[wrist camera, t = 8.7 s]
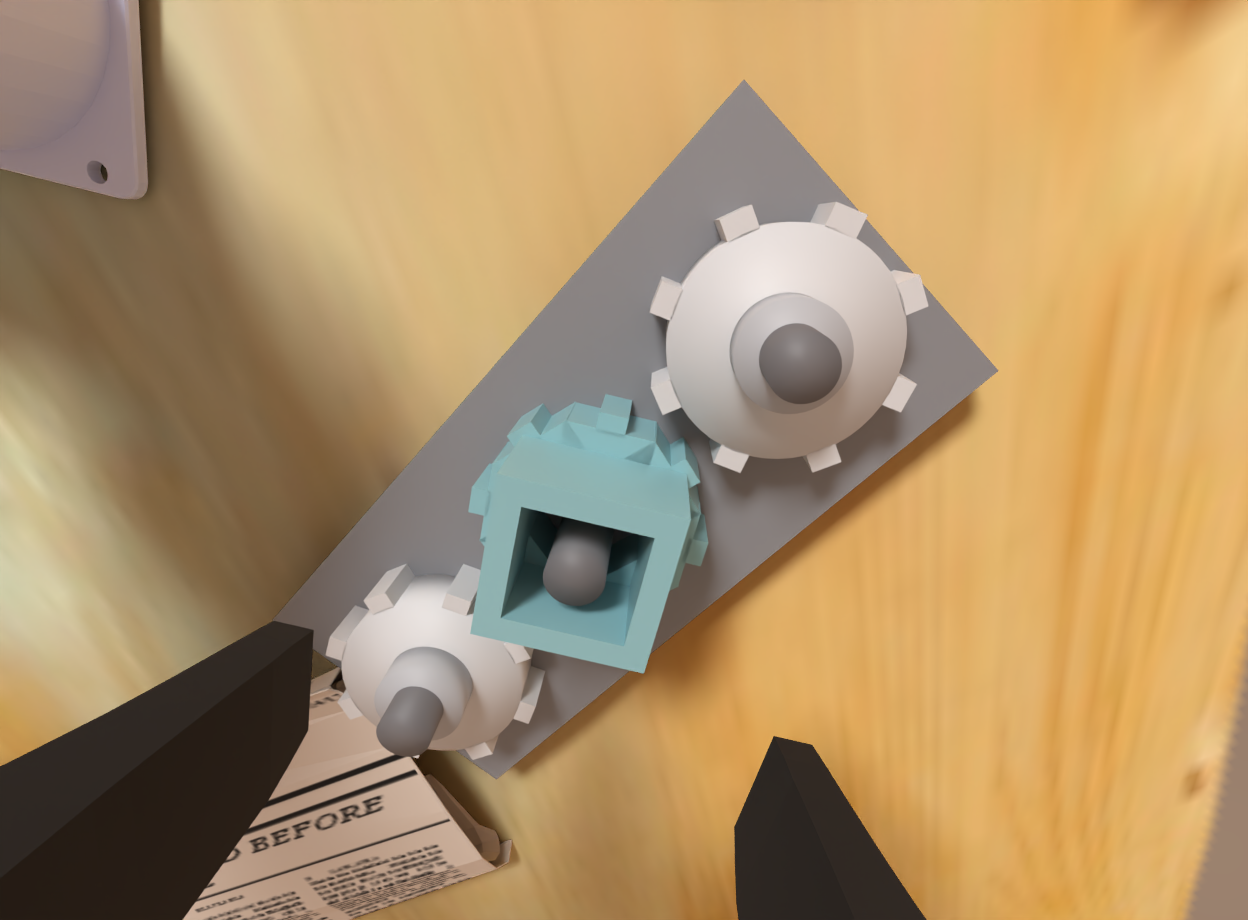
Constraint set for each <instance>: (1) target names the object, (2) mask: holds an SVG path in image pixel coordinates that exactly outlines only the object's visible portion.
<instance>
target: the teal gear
mask: <svg viewBox="0 0 1248 920" xmlns="http://www.w3.org/2000/svg"><path fill="white" fill-rule="evenodd" d="M631 405H632V400H629V399H625V398H620V397H616V396H612V395H608V394H606V395H605V397H604V400H603V403H602V406H601V408H598V407H594V406H590V405H585V404H581V403H577V402H574V403H572V404H571V405H569V406H567V407H566V408H564V409H562V410H561V411H559V412H558V413H556V414H554V415H553V416H552V415H551V414H550V412H549V411H548V409H547V408H546V407H545V405H544V404H541V405H539V406H538V407H536V408H534V409H533V410H531V411H529V412H528V413H526V414H525V415H523V416H521V418H520V419H519V420H518V422H517V423H516V424H515V426H514V427H513V428H512V430H511V431H510V432H509V434H508V435H507V437H508V439H509V440H510V441H509V442H507V444H506V445H505V447H504V448H503V449H502V451H501V452H500V453H499V455H498V456H497V458H496V459H495V460H494V462H493V463H492V464H490V463H489V465H488V466H487V467H486V469H485V470H484V471H483V473H482V474H481V476H480V477H479V478H478V480H477V481H476V482H475V484H474V485H473V486H472V490H471V497H470V504H469V510H468V512H470V513H475V514H479V515H483V516H484V518H483V524H482V530H481V537H480V541H481V543H482V544H483V545H484V553H483V559H482V565H481V571H480V577H479V583H478V589H477V596H476V602H475V608H474V614H473V620H472V626H471V632H470V634H473V635H477V636H482V637H486V638H490V639H495V640H499V641H504V642H508V643H512V644H517V645H521V646H525V647H530V648H534V649H539V650H543V651H547V652H552V653H556V654H560V655H565V656H569V657H573V658H578V659H582V660H587V661H591V662H595V663H600V664H604V665H608V666H613V667H617V668H622V669H626V670H630V671H635V672H639V673H643V674H644V672H645V669H646V665H647V662H648V659H649V655H650V652H651V649H652V646H653V642H654V639H655V636H656V633H657V629H658V626H659V623H660V619H661V616H662V613H663V610H664V606H665V603H666V600H667V597H668V593H669V591H670V590H672V589H674V588H676V587H678V586H679V582H680V579H681V575H682V572H683V569H684V566H685V563H688V564H692V565H697V566H701V564H702V561H703V558H704V555H705V552H706V549H707V545H708V537H707V530H706V523H705V516H704V514H701V509H700V502H699V494H698V487H697V486H696V484H698V483H700V476H699V469H698V462H697V458H696V456H695V454H694V453H693V451H692V450H691V448H690V446H689V445H688V443H687V442H686V440H685V438H684V437H682V438H681V439H679V440H677V441H675V442H673V443H672V444H670V443H669V441H668V440H667V438H666V437H665V435H664V433H663V432H662V430H661V429H660V427H659V425H658V424H657V422H656V421H652V420H648V419H644V418H639V417H635V416H631V415H630V411H631ZM546 513H550V514H554V515H558V516H562V517H567V518H571V519H575V520H579V521H584V522H588V523H592V524H596V525H601V526H605V527H609V528H613V529H618V530H622V531H626V532H630V533H633V534H631V535H629V536H627V537H626V538H624V539H622V540H620V541H618V542H616V543H614V544H612V545H611V552H610V558H609V564H608V570H607V576H606V582H605V587H604V590H603V592H602V594H601V595H600V596H599V597H598V598H597V599H596V600H595V601H593V602H591V603H589V604H587V605H582V606H570V605H566V604H563V603H561V602H559V601H557V600H555V599H554V598H553V597H552V596H551V595H550V594H549V593H548V591H547V590H546V588H545V586H544V583H543V572H544V568H545V565H546V563H547V560H548V557H549V554H550V551H551V548H552V545H553V542H554V540H555V537H556V534H557V531H558V530H557V528H556V527H555V526H554V524H553V523H552V521H551V520H550V519H549V517H548V516H547V515H546Z"/></svg>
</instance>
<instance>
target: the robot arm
mask: <svg viewBox="0 0 1248 920" xmlns="http://www.w3.org/2000/svg"><path fill="white" fill-rule="evenodd" d="M102 165H103V166H104V167H105V168H106V170H107V173H108V178H107V181H105V180H104V179H103V177H102V175H101V171H100V170H101V166H102ZM0 169H4V170H8V171H12V172H16V173H20V174H24V175H28V176H32V177H36V178H40V179H44V180H48V181H52V182H56V183H60V184H64V185H68V186H72V187H76V188H80V189H84V190H88V191H92V192H96V193H100V194H104V195H108V196H112V197H116V198H120V199H139V198H141V197H143V196H144V195H145V193H146V192H147V187H148V172H147V153H146V134H145V115H144V96H143V77H142V57H141V38H140V19H139V0H0ZM313 634H314V630H312V629H308V628H304V627H299V626H295V625H291V624H286V623H282V622H278V621H273V622H271V623H269V624H267V625H265V626H263V627H261V628H260V629H258V630H256V631H254V632H252V633H251V634H249V635H247V636H245V637H243V638H242V639H240V640H238V641H236V642H235V643H233V644H231V645H229V646H227V647H226V648H224V649H222V650H220V651H218V652H217V653H215V654H213V655H211V656H210V657H208V658H206V659H204V660H202V661H201V662H199V663H197V664H195V665H194V666H192V667H190V668H188V669H186V670H185V671H183V672H181V673H179V674H178V675H176V676H174V677H172V678H170V679H169V680H167V681H165V682H163V683H161V684H159V685H158V686H156V687H154V688H152V689H150V690H148V691H146V692H145V693H143V694H141V695H139V696H137V697H135V698H134V699H132V700H130V701H128V702H126V703H124V704H123V705H121V706H119V707H117V708H115V709H113V710H111V711H110V712H108V713H106V714H104V715H102V716H100V717H98V718H96V719H94V720H92V721H90V722H88V723H86V724H84V725H82V726H80V727H78V728H76V729H74V730H72V731H70V732H68V733H66V734H64V735H62V736H60V737H58V738H56V739H54V740H52V741H50V742H48V743H46V744H44V745H42V746H41V747H39V748H37V749H35V750H33V751H31V752H29V753H27V754H25V755H23V756H21V757H19V758H17V759H15V760H13V761H11V762H9V763H7V764H5V765H2V766H0V920H183V919H184V917H185V916H186V915H187V913H188V912H189V910H190V909H191V908H192V906H193V905H194V904H195V902H196V901H197V899H198V898H199V897H200V895H201V894H202V892H203V891H204V890H205V888H206V887H207V886H208V884H209V883H210V881H211V880H212V879H213V877H214V876H215V874H216V873H217V872H218V870H219V869H220V868H221V866H222V865H223V863H224V862H225V861H226V859H227V858H228V856H229V855H230V854H231V852H232V851H233V850H234V848H235V847H236V845H237V844H238V842H239V841H240V840H241V838H242V837H243V835H244V834H245V833H246V831H247V830H248V828H249V827H250V826H251V824H252V823H253V821H254V820H255V819H256V817H257V816H258V814H259V813H260V812H261V810H262V809H263V807H264V806H265V804H266V803H267V802H268V800H269V799H270V797H271V795H272V794H273V792H274V790H275V789H276V787H277V785H278V783H279V782H280V780H281V778H282V777H283V775H284V773H285V771H286V770H287V768H288V766H289V765H290V763H291V761H292V759H293V757H294V756H295V754H296V752H297V750H298V748H299V747H300V745H301V743H302V741H303V739H304V738H305V736H306V734H307V732H308V726H309V708H310V689H311V671H312V653H313ZM734 830H735V877H736V903H737V911H738V919H739V920H926V918H925V917H924V916H923V914H922V913H921V911H920V910H919V908H918V907H917V906H916V904H915V903H914V901H913V900H912V898H911V897H910V895H909V894H908V892H907V891H906V889H905V888H904V886H903V885H902V884H901V882H900V881H899V879H898V878H897V876H896V875H895V873H894V872H893V870H892V869H891V867H890V866H889V864H888V863H887V861H886V860H885V858H884V856H883V855H882V853H881V852H880V850H879V849H878V847H877V846H876V844H875V843H874V841H873V840H872V838H871V837H870V835H869V833H868V832H867V830H866V829H865V827H864V826H863V824H862V822H861V821H860V819H859V818H858V816H857V815H856V813H855V811H854V810H853V808H852V807H851V805H850V804H849V802H848V800H847V799H846V797H845V796H844V794H843V793H842V791H841V789H840V788H839V786H838V785H837V783H836V781H835V780H834V778H833V777H832V775H831V773H830V772H829V770H828V769H827V767H826V766H825V764H824V762H823V761H822V759H821V758H820V756H819V755H818V753H817V752H816V750H815V749H814V747H813V746H812V745H810V744H806V743H801V742H797V741H793V740H788V739H784V738H780V737H775V736H774V737H773V739H772V742H771V744H770V746H769V749H768V751H767V753H766V756H765V758H764V760H763V763H762V765H761V767H760V769H759V772H758V774H757V776H756V779H755V781H754V783H753V786H752V788H751V790H750V792H749V795H748V797H747V799H746V802H745V804H744V806H743V809H742V811H741V813H740V816H739V818H738V820H737V822H736V825H735V827H734Z"/></svg>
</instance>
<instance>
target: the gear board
mask: <svg viewBox="0 0 1248 920" xmlns="http://www.w3.org/2000/svg"><path fill="white" fill-rule="evenodd" d="M867 216H868V215H867V214H865V213H862V212H860V211H858V209H857V208H856V207H855V206H854V205H853V204H852V202H851V201H850V200H849V199H848V198H847V197H846V196H845V194H844V193H843V192H842V191H841V190H840V189H839V188H838V186H837V185H836V184H835V183H834V182H833V181H832V180H831V178H830V177H829V176H828V175H827V174H826V173H825V172H824V170H823V169H822V168H821V167H820V166H819V165H818V164H817V162H816V161H815V160H814V159H813V158H812V157H811V156H810V154H809V153H808V152H807V151H806V150H805V149H804V148H803V146H802V145H801V144H800V143H799V142H798V141H797V140H796V138H795V137H794V136H793V135H792V134H791V133H790V132H789V130H788V129H787V128H786V127H785V126H784V125H783V124H782V122H781V121H780V120H779V119H778V118H777V117H776V116H775V114H774V113H773V112H772V111H771V110H770V109H769V107H768V106H767V105H766V104H765V103H764V102H763V101H762V99H761V98H760V97H759V96H758V95H757V94H756V93H755V91H754V90H753V89H752V88H751V87H750V86H749V85H748V83H747V82H746V81H745V80H743V81H742V82H741V83H740V85H739V86H738V87H737V88H736V89H735V90H734V91H733V93H732V94H731V95H730V96H729V97H728V98H727V99H726V101H725V102H724V103H723V104H722V105H721V106H720V108H719V109H718V110H717V111H716V112H715V113H714V114H713V116H712V117H711V118H710V119H709V120H708V121H707V122H706V124H705V125H704V126H703V127H702V128H701V129H700V130H699V132H698V133H697V134H696V135H695V136H694V137H693V138H692V140H691V141H690V142H689V143H688V144H687V145H686V146H685V148H684V149H683V150H682V151H681V152H680V153H679V154H678V156H677V157H676V158H675V159H674V160H673V161H672V163H671V164H670V165H669V166H668V167H667V168H666V169H665V171H664V172H663V173H662V174H661V175H660V176H659V177H658V179H657V180H656V181H655V182H654V183H653V184H652V185H651V187H650V188H649V189H648V190H647V191H646V192H645V193H644V195H643V196H642V197H641V198H640V199H639V200H638V201H637V203H636V204H635V205H634V206H633V207H632V208H631V210H630V211H629V212H628V213H627V214H626V215H625V216H624V218H623V219H622V220H621V221H620V222H619V223H618V224H617V226H616V227H615V228H614V229H613V230H612V231H611V232H610V234H609V235H608V236H607V237H606V238H605V239H604V240H603V242H602V243H601V244H600V245H599V246H598V247H597V248H596V250H595V251H594V252H593V253H592V254H591V255H590V257H589V258H588V259H587V260H586V261H585V262H584V263H583V265H582V266H581V267H580V268H579V269H578V270H577V271H576V273H575V274H574V275H573V276H572V277H571V278H570V279H569V281H568V282H567V283H566V284H565V285H564V286H563V287H562V289H561V290H560V291H559V292H558V293H557V294H556V295H555V297H554V298H553V299H552V300H551V301H550V302H549V304H548V305H547V306H546V307H545V308H544V309H543V310H542V312H541V313H540V314H539V315H538V316H537V317H536V318H535V320H534V321H533V322H532V323H531V324H530V325H529V326H528V328H527V329H526V330H525V331H524V332H523V333H522V334H521V336H520V337H519V338H518V339H517V340H516V341H515V342H514V344H513V345H512V346H511V347H510V348H509V349H508V351H507V352H506V353H505V354H504V355H503V356H502V357H501V359H500V360H499V361H498V362H497V363H496V364H495V365H494V367H493V368H492V369H491V370H490V371H489V372H488V373H487V375H486V376H485V377H484V378H483V379H482V380H481V381H480V383H479V384H478V385H477V386H476V387H475V388H474V389H473V391H472V392H471V393H470V394H469V395H468V396H467V398H466V399H465V400H464V401H463V402H462V403H461V404H460V406H459V407H458V408H457V409H456V410H455V411H454V412H453V414H452V415H451V416H450V417H449V418H448V419H447V420H446V422H445V423H444V424H443V425H442V426H441V427H440V428H439V430H438V431H437V432H436V433H435V434H434V435H433V436H432V438H431V439H430V440H429V441H428V442H427V443H426V444H425V446H424V447H423V448H422V449H421V450H420V451H419V453H418V454H417V455H416V456H415V457H414V458H413V459H412V461H411V462H410V463H409V464H408V465H407V466H406V467H405V469H404V470H403V471H402V472H401V473H400V474H399V475H398V477H397V478H396V479H395V480H394V481H393V482H392V483H391V485H390V486H389V487H388V488H387V489H386V490H385V491H384V493H383V494H382V495H381V496H380V497H379V498H378V500H377V501H376V502H375V503H374V504H373V505H372V506H371V508H370V509H369V510H368V511H367V512H366V513H365V514H364V516H363V517H362V518H361V519H360V520H359V521H358V522H357V524H356V525H355V526H354V527H353V528H352V529H351V530H350V532H349V533H348V534H347V535H346V536H345V537H344V538H343V540H342V541H341V542H340V543H339V544H338V545H337V547H336V548H335V549H334V550H333V551H332V552H331V553H330V555H329V556H328V557H327V558H326V559H325V560H324V561H323V563H322V564H321V565H320V566H319V567H318V568H317V569H316V571H315V572H314V573H313V574H312V575H311V576H310V577H309V579H308V580H307V581H306V582H305V583H304V584H303V585H302V587H301V588H300V589H299V590H298V591H297V592H296V594H295V595H294V596H293V597H292V598H291V599H290V600H289V602H288V603H287V604H286V605H285V606H284V607H283V608H282V610H281V611H280V612H279V613H278V614H277V615H276V616H275V618H274V619H273V621H278V622H282V623H286V624H291V625H295V626H299V627H304V628H308V629H312V630H314V634H313V649H314V650H315V651H316V652H318V653H319V654H321V655H322V656H323V657H325V658H326V659H328V660H329V661H331V662H332V663H333V664H335V665H336V666H338V667H339V668H340V669H342V675H343V680H344V684H345V687H346V690H345V692H344V694H343V695H342V696H341V698H340V699H339V700H338V702H337V703H338V704H339V705H340V707H341V708H342V709H343V711H344V712H345V713H346V715H347V716H348V717H349V719H350V720H351V719H354V718H357V717H360V716H363V715H364V716H365V717H366V718H367V719H368V720H369V721H370V722H371V723H372V724H374V725H375V726H376V727H377V729H376V735H377V738H378V740H379V742H380V744H381V745H382V746H383V747H384V748H385V749H387V750H388V751H390V752H391V753H393V754H396V755H399V756H404V757H415V758H419V755H420V754H422V753H423V752H425V751H426V750H427V749H432V750H456V751H457V752H459V753H460V754H461V755H463V756H464V757H466V758H467V759H468V760H470V761H471V762H473V763H474V764H475V765H477V766H478V767H480V768H481V769H482V770H484V771H485V772H487V773H488V774H490V775H491V776H492V777H494V778H495V779H497V778H499V777H500V776H501V775H502V774H504V773H505V772H506V771H507V770H509V769H510V768H511V767H512V766H513V765H515V764H516V763H517V762H518V761H520V760H521V759H522V758H523V757H524V756H526V755H527V754H528V753H529V752H531V751H532V750H533V749H534V748H536V747H537V746H538V745H539V744H540V743H542V742H543V741H544V740H545V739H547V738H548V737H549V736H550V735H552V734H553V733H554V732H555V731H556V730H558V729H559V728H560V727H561V726H563V725H564V724H565V723H566V722H567V721H569V720H570V719H571V718H572V717H574V716H575V715H576V714H577V713H579V712H580V711H581V710H582V709H583V708H585V707H586V706H587V705H588V704H590V703H591V702H592V701H593V700H595V699H596V698H597V697H598V696H599V695H601V694H602V693H603V692H604V691H606V690H607V689H608V688H609V687H611V686H612V685H613V684H614V683H615V682H617V681H618V680H619V679H620V678H622V677H623V676H624V675H625V674H626V673H628V672H629V671H630V670H626V669H622V668H617V667H613V666H608V665H604V664H600V663H595V662H591V661H587V660H582V659H578V658H573V657H569V656H565V655H560V654H556V653H552V652H547V651H543V650H539V649H534V648H530V647H525V646H521V645H517V644H512V643H508V642H504V641H499V640H495V639H490V638H486V637H482V636H477V635H473V634H470V632H471V626H472V620H473V614H474V608H475V602H476V596H477V589H478V583H479V577H480V571H481V565H482V559H483V553H484V545H483V544H482V543H481V541H480V537H481V530H482V524H483V518H484V516H483V515H479V514H475V513H470V512H468V510H469V504H470V497H471V490H472V486H473V485H474V484H475V482H476V481H477V480H478V478H479V477H480V476H481V474H482V473H483V471H484V470H485V469H486V467H487V466H488V465H489V463H490V464H492V463H493V462H494V460H495V459H496V458H497V456H498V455H499V453H500V452H501V451H502V449H503V448H504V447H505V445H506V444H507V442H509V441H510V440H509V439H508V437H507V435H508V434H509V432H510V431H511V430H512V428H513V427H514V426H515V424H516V423H517V422H518V420H519V419H520V418H521V416H523V415H525V414H526V413H528V412H529V411H531V410H533V409H534V408H536V407H538V406H539V405H541V404H544V405H545V407H546V408H547V409H548V411H549V412H550V414H551V415H552V416H553V415H554V414H556V413H558V412H559V411H561V410H562V409H564V408H566V407H567V406H569V405H571V404H572V403H574V402H577V403H581V404H585V405H590V406H594V407H598V408H601V406H602V403H603V400H604V397H605V395H606V394H608V395H612V396H616V397H620V398H625V399H629V400H632V405H631V411H630V415H631V416H635V417H639V418H644V419H648V420H652V421H656V422H657V424H658V425H659V427H660V429H661V430H662V432H663V433H664V435H665V437H666V438H667V440H668V441H669V443H670V444H672V443H673V442H675V441H677V440H679V439H681V438H682V437H684V438H685V440H686V442H687V443H688V445H689V446H690V448H691V450H692V451H693V453H694V454H695V456H696V458H697V462H698V469H699V476H700V483H698V484H696V486H697V487H698V494H699V502H700V509H701V514H704V516H705V523H706V530H707V537H708V545H707V549H706V552H705V555H704V558H703V561H702V564H701V566H697V565H692V564H688V563H685V566H684V569H683V572H682V575H681V579H680V582H679V586H678V587H676V588H674V589H672V590H670V591H669V593H668V597H667V600H666V603H665V606H664V610H663V613H662V616H661V619H660V623H659V626H658V629H657V633H656V636H655V639H654V642H653V646H652V649H651V652H650V654H651V653H652V652H654V651H655V650H656V649H657V648H658V647H660V646H661V645H662V644H663V643H665V642H666V641H667V640H668V639H669V638H671V637H672V636H673V635H674V634H676V633H677V632H678V631H679V630H681V629H682V628H683V627H684V626H685V625H687V624H688V623H689V622H690V621H692V620H693V619H694V618H695V617H697V616H698V615H699V614H700V613H701V612H703V611H704V610H705V609H706V608H708V607H709V606H710V605H711V604H713V603H714V602H715V601H716V600H717V599H719V598H720V597H721V596H722V595H724V594H725V593H726V592H727V591H728V590H730V589H731V588H732V587H733V586H735V585H736V584H737V583H738V582H740V581H741V580H742V579H743V578H744V577H746V576H747V575H748V574H749V573H751V572H752V571H753V570H754V569H756V568H757V567H758V566H759V565H760V564H762V563H763V562H764V561H765V560H767V559H768V558H769V557H770V556H771V555H773V554H774V553H775V552H776V551H778V550H779V549H780V548H781V547H783V546H784V545H785V544H786V543H787V542H789V541H790V540H791V539H792V538H794V537H795V536H796V535H797V534H799V533H800V532H801V531H802V530H803V529H805V528H806V527H807V526H808V525H810V524H811V523H812V522H813V521H814V520H816V519H817V518H818V517H819V516H821V515H822V514H823V513H824V512H826V511H827V510H828V509H829V508H830V507H832V506H833V505H834V504H835V503H837V502H838V501H839V500H840V499H842V498H843V497H844V496H845V495H846V494H848V493H849V492H850V491H851V490H853V489H854V488H855V487H856V486H858V485H859V484H860V483H861V482H862V481H864V480H865V479H866V478H867V477H869V476H870V475H871V474H872V473H873V472H875V471H876V470H877V469H878V468H880V467H881V466H882V465H883V464H885V463H886V462H887V461H888V460H889V459H891V458H892V457H893V456H894V455H896V454H897V453H898V452H899V451H901V450H902V449H903V448H904V447H905V446H907V445H908V444H909V443H910V442H912V441H913V440H914V439H915V438H916V437H918V436H919V435H920V434H921V433H923V432H924V431H925V430H926V429H928V428H929V427H930V426H931V425H932V424H934V423H935V422H936V421H937V420H939V419H940V418H941V417H942V416H944V415H945V414H946V413H947V412H948V411H950V410H951V409H952V408H953V407H955V406H956V405H957V404H958V403H959V402H961V401H962V400H963V399H964V398H966V397H967V396H968V395H969V394H971V393H972V392H973V391H974V390H975V389H977V388H978V387H979V386H980V385H982V384H983V383H984V382H985V381H987V380H988V379H989V378H990V377H991V376H993V375H994V374H995V373H996V372H998V370H997V368H996V367H995V366H994V365H993V364H992V363H991V362H990V360H989V359H988V358H987V357H986V356H985V355H984V354H983V352H982V351H981V350H980V349H979V348H978V347H977V346H976V344H975V343H974V342H973V341H972V340H971V339H970V338H969V336H968V335H967V334H966V333H965V332H964V331H963V330H962V328H961V327H960V326H959V325H958V324H957V323H956V322H955V320H954V319H953V318H952V317H951V316H950V315H949V314H948V312H947V311H946V310H945V309H944V308H943V307H942V306H941V304H940V303H939V302H938V301H937V300H936V299H935V297H934V296H933V295H932V294H931V293H930V292H929V291H928V289H927V288H926V287H925V286H924V285H923V284H922V280H921V277H920V275H918V274H914V273H913V272H912V271H911V270H910V269H909V268H908V267H907V265H906V264H905V263H904V262H903V261H902V260H901V259H900V257H899V256H898V255H897V254H896V253H895V252H894V251H893V249H892V248H891V247H890V246H889V245H888V244H887V243H886V241H885V240H884V239H883V238H882V237H881V236H880V235H879V233H878V232H877V231H876V230H875V229H874V228H873V227H872V225H871V224H870V223H869V222H868V221H867V220H866V218H867ZM546 515H547V516H548V517H549V519H550V520H551V521H552V523H553V524H554V526H555V527H556V528H557V530H558V531H557V534H556V537H555V540H554V542H553V545H552V548H551V551H550V554H549V557H548V560H547V563H546V565H545V568H544V572H543V583H544V586H545V588H546V590H547V591H548V593H549V594H550V595H551V596H552V597H553V598H554V599H555V600H557V601H559V602H561V603H563V604H566V605H570V606H582V605H587V604H589V603H591V602H593V601H595V600H596V599H597V598H598V597H599V596H600V595H601V594H602V592H603V590H604V587H605V582H606V576H607V570H608V564H609V558H610V552H611V545H612V544H614V543H616V542H618V541H620V540H622V539H624V538H626V537H627V536H629V535H631V534H633V533H630V532H626V531H622V530H618V529H613V528H609V527H605V526H601V525H596V524H592V523H588V522H584V521H579V520H575V519H571V518H567V517H562V516H558V515H554V514H550V513H546Z"/></svg>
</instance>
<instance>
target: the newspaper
mask: <svg viewBox="0 0 1248 920" xmlns="http://www.w3.org/2000/svg"><path fill="white" fill-rule="evenodd" d="M345 690H346V687H345V684H344V680H343V675H342V669H340V668H339V667H338V668H336V669H334V670H331V671H329V672H327V673H325V674H323V675H321V676H318V677H316V678H314V679H312V680H311V689H310V708H309V726H308V732H307V734H306V736H305V738H304V739H303V741H302V743H301V745H300V747H299V748H298V750H297V752H296V754H295V756H294V757H293V759H292V761H291V763H290V765H289V766H288V768H287V770H286V771H285V773H284V775H283V777H282V778H281V780H280V782H279V783H278V785H277V787H276V789H275V790H274V792H273V794H272V795H271V797H270V799H269V800H268V802H267V803H266V804H265V806H264V807H263V809H262V810H261V812H260V813H259V814H258V816H257V817H256V819H255V820H254V821H253V823H252V824H251V826H250V827H249V828H248V830H247V831H246V833H245V834H244V835H243V837H242V838H241V840H240V841H239V842H238V844H237V845H236V847H235V848H234V850H233V851H232V852H231V854H230V855H229V856H228V858H227V859H226V861H225V862H224V863H223V865H222V866H221V868H220V869H219V870H218V872H217V873H216V874H215V876H214V877H213V879H212V880H211V881H210V883H209V884H208V886H207V887H206V888H205V890H204V891H203V892H202V894H201V895H200V897H199V898H198V899H197V901H196V902H195V904H194V905H193V906H192V908H191V909H190V910H189V912H188V913H187V915H186V916H185V917H184V919H183V920H351V919H354V918H357V917H360V916H362V915H365V914H368V913H371V912H374V911H377V910H380V909H383V908H386V907H388V906H391V905H394V904H397V903H400V902H403V901H406V900H409V899H412V898H415V897H417V896H420V895H423V894H426V893H429V892H432V891H435V890H438V889H441V888H444V887H446V886H449V885H452V884H455V883H458V882H461V881H464V880H467V879H470V878H472V877H475V876H478V875H481V874H484V873H487V872H490V871H493V870H496V869H498V868H500V867H502V866H503V865H505V864H507V863H509V859H510V852H511V846H512V840H511V839H510V840H507V841H505V842H502V843H499V838H498V836H497V834H496V831H495V830H492V829H489V828H487V827H484V826H481V825H479V824H478V823H477V822H476V821H475V820H474V819H473V818H472V817H471V816H470V815H469V813H468V812H467V811H466V810H465V809H464V808H463V807H462V806H461V805H460V804H459V803H458V801H457V800H456V799H455V798H454V797H453V796H452V795H451V794H450V793H449V792H448V791H447V790H446V788H445V787H444V786H443V785H442V784H441V783H440V782H439V781H438V780H436V779H435V778H434V777H433V776H432V775H431V774H429V775H426V776H424V775H423V774H422V772H421V771H420V769H419V768H418V767H417V765H416V764H415V762H414V761H413V759H412V758H411V757H404V756H399V755H396V754H393V753H391V752H390V751H388V750H387V749H385V748H384V747H383V746H382V745H381V744H380V742H379V740H378V738H377V735H376V729H377V727H376V726H375V725H374V724H372V723H371V722H370V721H369V720H368V719H367V718H366V717H365V716H364V715H363V716H360V717H357V718H354V719H351V720H350V719H349V717H348V716H347V715H346V713H345V712H344V711H343V709H342V708H341V707H340V705H339V704H338V703H337V702H338V700H339V699H340V698H341V696H342V695H343V694H344V692H345Z"/></svg>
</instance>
